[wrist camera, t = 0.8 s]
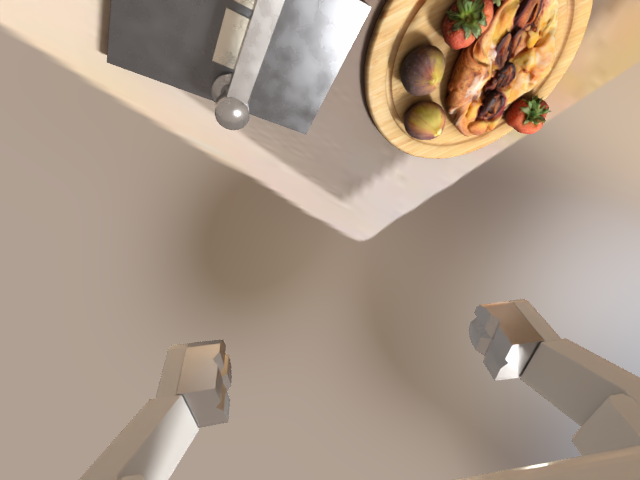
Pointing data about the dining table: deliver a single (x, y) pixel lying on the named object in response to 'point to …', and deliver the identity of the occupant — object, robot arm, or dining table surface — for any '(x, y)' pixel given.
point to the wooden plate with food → (467, 69)
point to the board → (224, 44)
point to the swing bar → (247, 65)
